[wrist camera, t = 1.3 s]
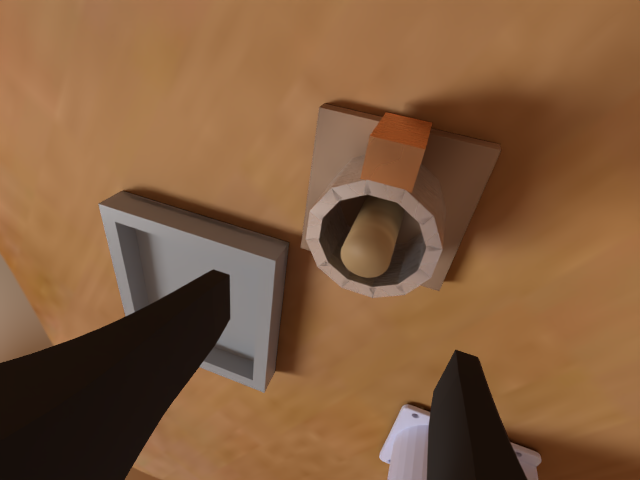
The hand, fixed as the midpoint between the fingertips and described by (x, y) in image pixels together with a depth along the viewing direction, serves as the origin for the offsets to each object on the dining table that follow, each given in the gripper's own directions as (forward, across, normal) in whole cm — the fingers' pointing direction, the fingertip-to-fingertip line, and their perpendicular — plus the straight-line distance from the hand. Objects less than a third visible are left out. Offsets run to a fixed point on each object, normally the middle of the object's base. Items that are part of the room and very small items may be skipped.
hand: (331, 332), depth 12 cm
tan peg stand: (+9, 0, 0) cm, 9 cm away
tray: (+9, +11, +11) cm, 18 cm away
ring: (+9, 0, 0) cm, 9 cm away
